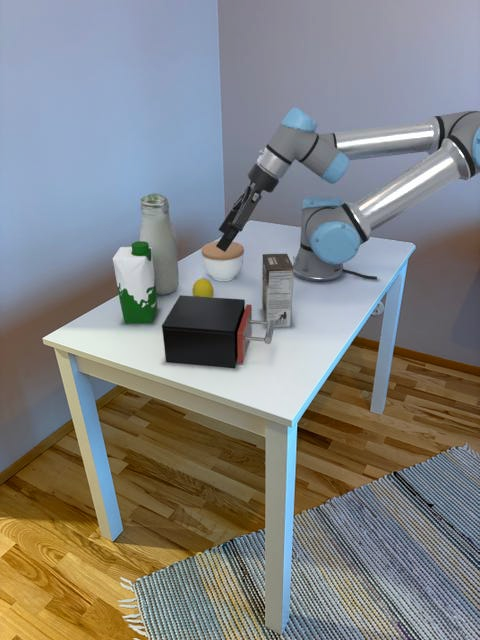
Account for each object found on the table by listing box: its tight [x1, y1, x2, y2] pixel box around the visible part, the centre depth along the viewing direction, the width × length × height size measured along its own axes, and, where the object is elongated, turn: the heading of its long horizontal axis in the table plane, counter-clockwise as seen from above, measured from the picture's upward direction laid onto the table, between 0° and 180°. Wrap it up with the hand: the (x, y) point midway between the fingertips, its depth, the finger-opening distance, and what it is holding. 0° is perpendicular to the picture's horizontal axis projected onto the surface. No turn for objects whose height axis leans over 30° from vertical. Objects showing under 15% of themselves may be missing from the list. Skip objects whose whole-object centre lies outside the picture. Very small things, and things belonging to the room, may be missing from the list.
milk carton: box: [112, 240, 158, 324], centre depth 116 cm, size 9×9×20 cm
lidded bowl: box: [200, 240, 245, 282], centre depth 139 cm, size 13×13×11 cm
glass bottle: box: [138, 193, 180, 296], centre depth 126 cm, size 10×10×28 cm
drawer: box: [235, 304, 275, 365], centre depth 105 cm, size 20×13×8 cm, turn 81°
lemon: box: [192, 277, 214, 298], centre depth 124 cm, size 6×6×8 cm
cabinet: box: [161, 294, 246, 369], centre depth 105 cm, size 16×14×10 cm
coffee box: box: [261, 253, 295, 328], centre depth 115 cm, size 9×6×16 cm
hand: (221, 240), depth 123 cm, fingers open, 13 cm apart
